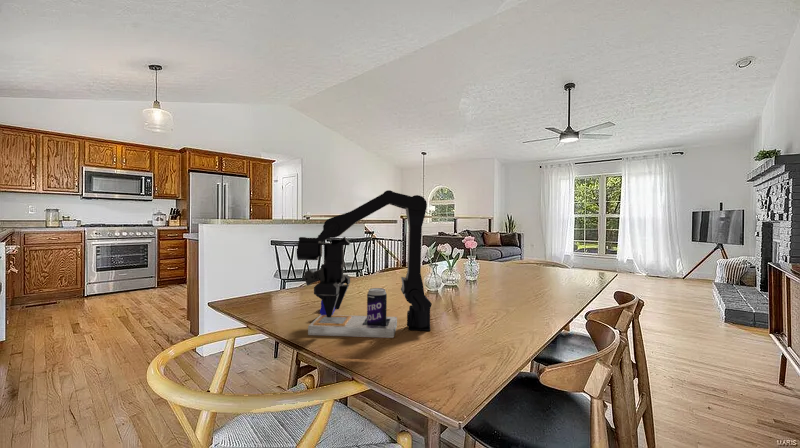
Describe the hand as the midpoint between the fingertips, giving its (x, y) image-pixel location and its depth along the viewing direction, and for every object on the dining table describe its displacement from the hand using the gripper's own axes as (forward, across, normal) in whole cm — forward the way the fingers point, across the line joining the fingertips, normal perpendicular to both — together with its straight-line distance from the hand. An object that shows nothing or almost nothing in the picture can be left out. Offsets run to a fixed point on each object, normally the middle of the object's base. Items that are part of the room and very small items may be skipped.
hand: (333, 313), depth 102 cm
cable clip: (+5, -16, -6) cm, 18 cm away
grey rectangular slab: (+5, 0, +6) cm, 8 cm away
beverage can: (+5, 0, +13) cm, 14 cm away
